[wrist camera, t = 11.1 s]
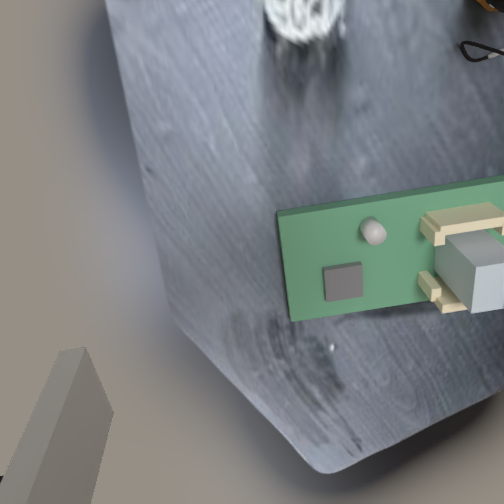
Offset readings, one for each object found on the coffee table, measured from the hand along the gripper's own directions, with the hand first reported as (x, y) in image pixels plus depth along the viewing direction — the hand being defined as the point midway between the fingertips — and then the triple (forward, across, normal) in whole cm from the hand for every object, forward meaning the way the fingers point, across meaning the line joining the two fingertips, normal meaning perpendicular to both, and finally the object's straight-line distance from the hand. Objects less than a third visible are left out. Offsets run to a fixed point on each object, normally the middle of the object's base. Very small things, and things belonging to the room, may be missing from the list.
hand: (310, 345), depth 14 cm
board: (+31, +14, -16) cm, 38 cm away
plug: (+30, +20, -16) cm, 39 cm away
